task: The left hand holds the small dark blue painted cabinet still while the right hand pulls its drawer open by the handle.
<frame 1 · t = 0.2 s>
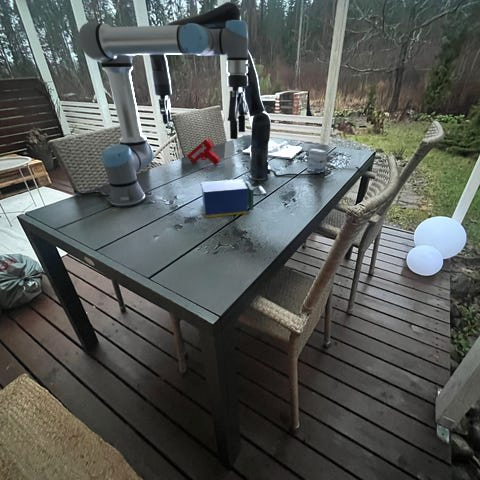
left hand: (238, 135, 111), 28 cm above the table, tool pointing down, fingers open, 13 cm apart
right hand: (167, 122, 130), 29 cm above the table, tool pointing down, fingers open, 8 cm apart
relief map: (273, 151, 194), on the table
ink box: (315, 171, 157), on the table
drawer: (238, 196, 114), point 5 cm above the table, slide at 1.4 cm
cabinet: (224, 209, 116), on the table
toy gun: (204, 163, 171), on the table
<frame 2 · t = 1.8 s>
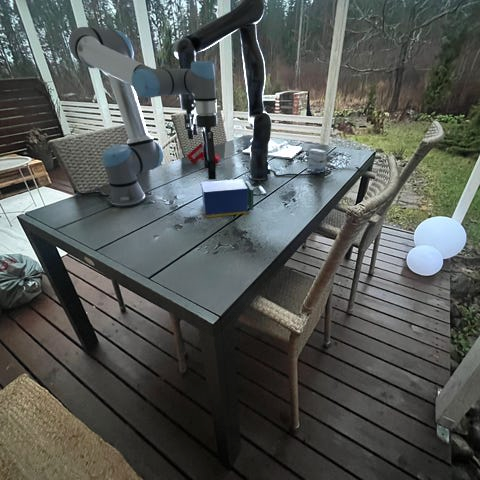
left hand: (210, 173, 106), 16 cm above the table, tool pointing down, fingers open, 13 cm apart
right hand: (193, 136, 124), 24 cm above the table, tool pointing down, fingers open, 8 cm apart
nothing on the table moved.
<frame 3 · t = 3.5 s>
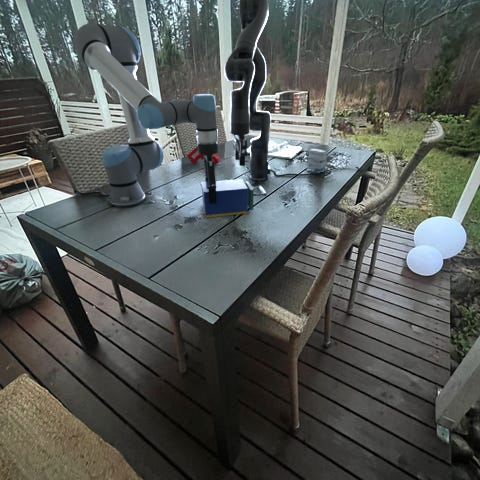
left hand: (211, 197, 111), 6 cm above the table, tool pointing down, fingers closed on cabinet, 11 cm apart
right hand: (239, 162, 113), 18 cm above the table, tool pointing down, fingers open, 8 cm apart
cabinet: (224, 209, 116), on the table, touching left hand
everything else where it was.
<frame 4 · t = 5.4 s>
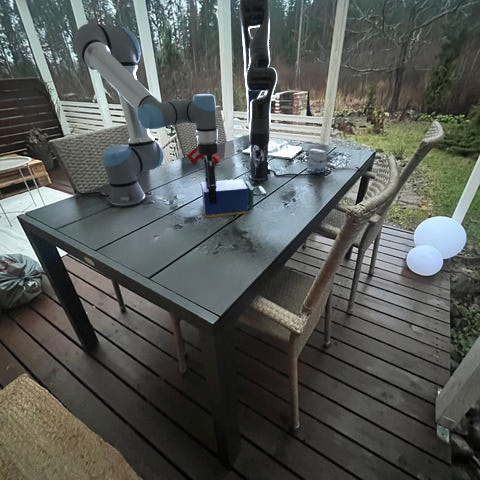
left hand: (211, 197, 111), 6 cm above the table, tool pointing down, fingers closed on cabinet, 11 cm apart
right hand: (258, 175, 110), 14 cm above the table, tool pointing down, fingers closed
cabinet: (224, 209, 116), on the table, touching left hand
everything else where it was.
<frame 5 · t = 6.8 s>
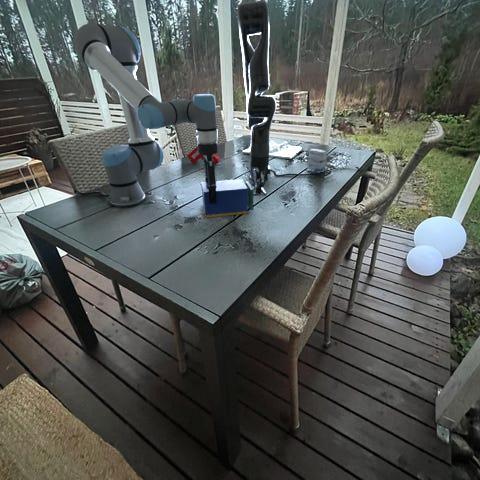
left hand: (211, 197, 111), 6 cm above the table, tool pointing down, fingers closed on cabinet, 11 cm apart
right hand: (258, 194, 115), 5 cm above the table, tool pointing down, fingers closed
drawer: (238, 196, 114), point 5 cm above the table, slide at 1.4 cm, touching right hand
cabinet: (224, 209, 116), on the table, touching left hand
everything else where it was.
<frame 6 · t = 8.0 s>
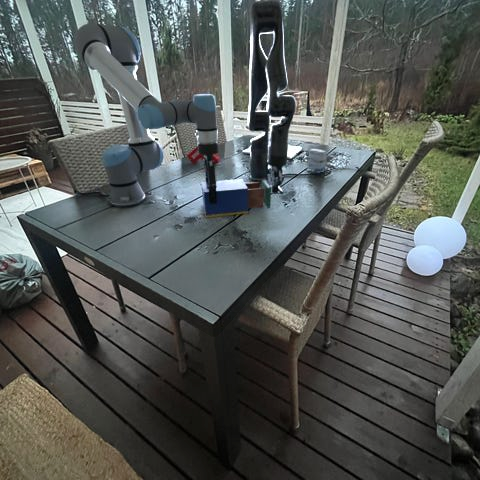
left hand: (211, 197, 111), 6 cm above the table, tool pointing down, fingers closed on cabinet, 11 cm apart
right hand: (274, 193, 116), 5 cm above the table, tool pointing down, fingers closed
drawer: (255, 194, 115), point 6 cm above the table, slide at 8.7 cm, touching right hand
cabinet: (225, 209, 116), on the table, touching left hand
everything else where it was.
when the left hand's fingers open (6 cm above the table, at t = 9.7 s): cabinet stays where it is, on the table.
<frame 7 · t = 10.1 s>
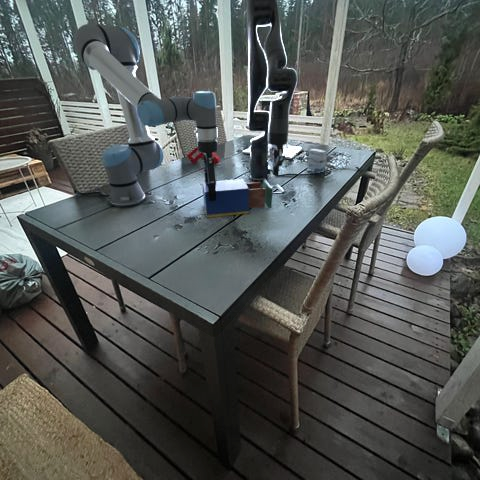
left hand: (210, 193, 111), 8 cm above the table, tool pointing down, fingers open, 13 cm apart
right hand: (275, 174, 112), 14 cm above the table, tool pointing down, fingers closed
drawer: (257, 194, 115), point 5 cm above the table, slide at 8.9 cm
cabinet: (225, 209, 116), on the table
everything else where it was.
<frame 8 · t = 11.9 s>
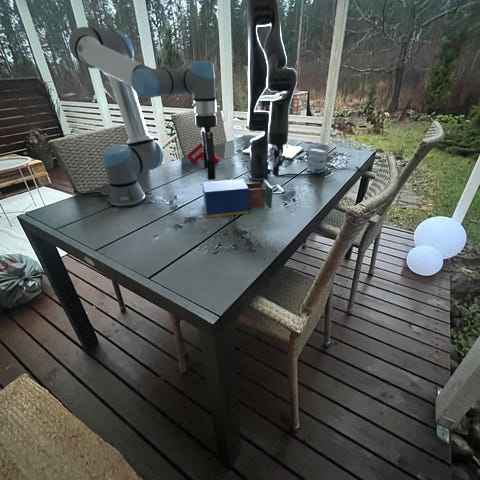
left hand: (209, 173, 106), 16 cm above the table, tool pointing down, fingers open, 13 cm apart
right hand: (275, 174, 112), 14 cm above the table, tool pointing down, fingers closed
nothing on the table moved.
at the end: drawer slide at 8.9 cm; cabinet tilted 0°; cabinet never tilted more than 2° during the clip; cabinet moved 0.5 cm from its start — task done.
